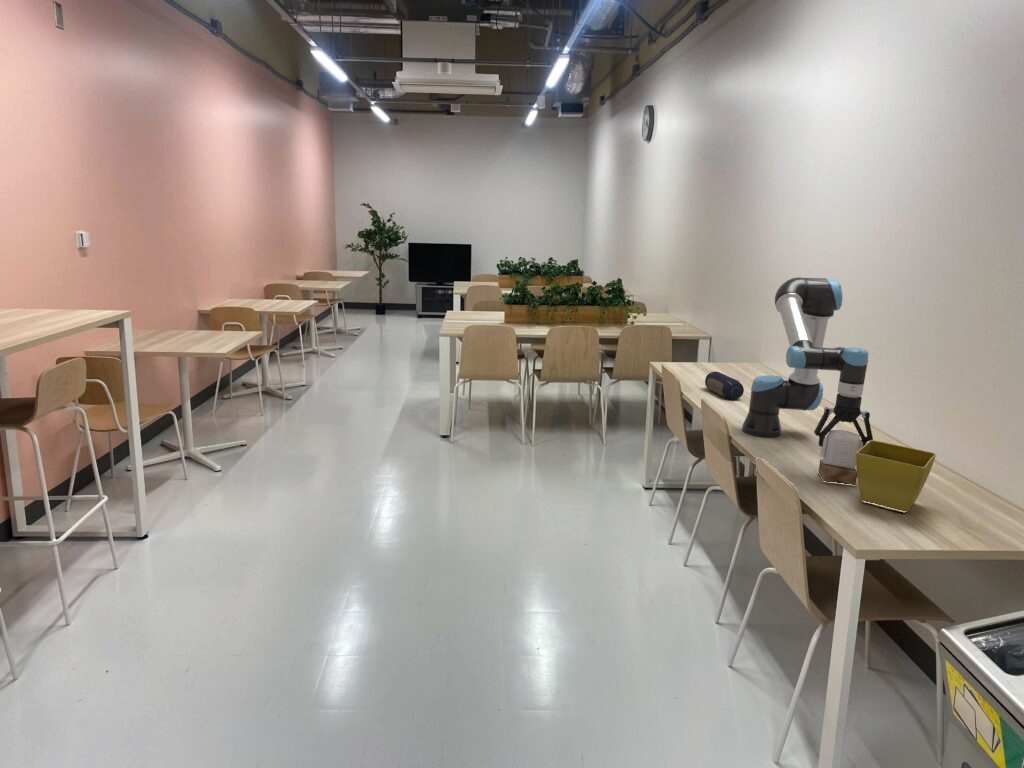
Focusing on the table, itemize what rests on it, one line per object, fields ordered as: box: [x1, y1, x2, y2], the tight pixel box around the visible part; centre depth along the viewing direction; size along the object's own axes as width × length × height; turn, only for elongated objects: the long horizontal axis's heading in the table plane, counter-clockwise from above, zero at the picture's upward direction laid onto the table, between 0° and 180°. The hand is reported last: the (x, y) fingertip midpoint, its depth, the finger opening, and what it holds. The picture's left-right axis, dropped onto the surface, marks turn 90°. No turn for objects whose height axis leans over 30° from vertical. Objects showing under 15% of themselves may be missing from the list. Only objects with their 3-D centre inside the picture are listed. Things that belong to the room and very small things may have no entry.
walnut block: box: [817, 458, 857, 485], centre depth 243 cm, size 10×10×5 cm
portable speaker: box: [704, 371, 745, 401], centre depth 352 cm, size 25×10×10 cm, turn 14°
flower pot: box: [855, 439, 937, 512], centre depth 223 cm, size 19×19×17 cm
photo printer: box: [822, 429, 861, 469], centre depth 241 cm, size 10×4×12 cm, turn 60°
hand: (839, 457), depth 242 cm, fingers open, 11 cm apart
